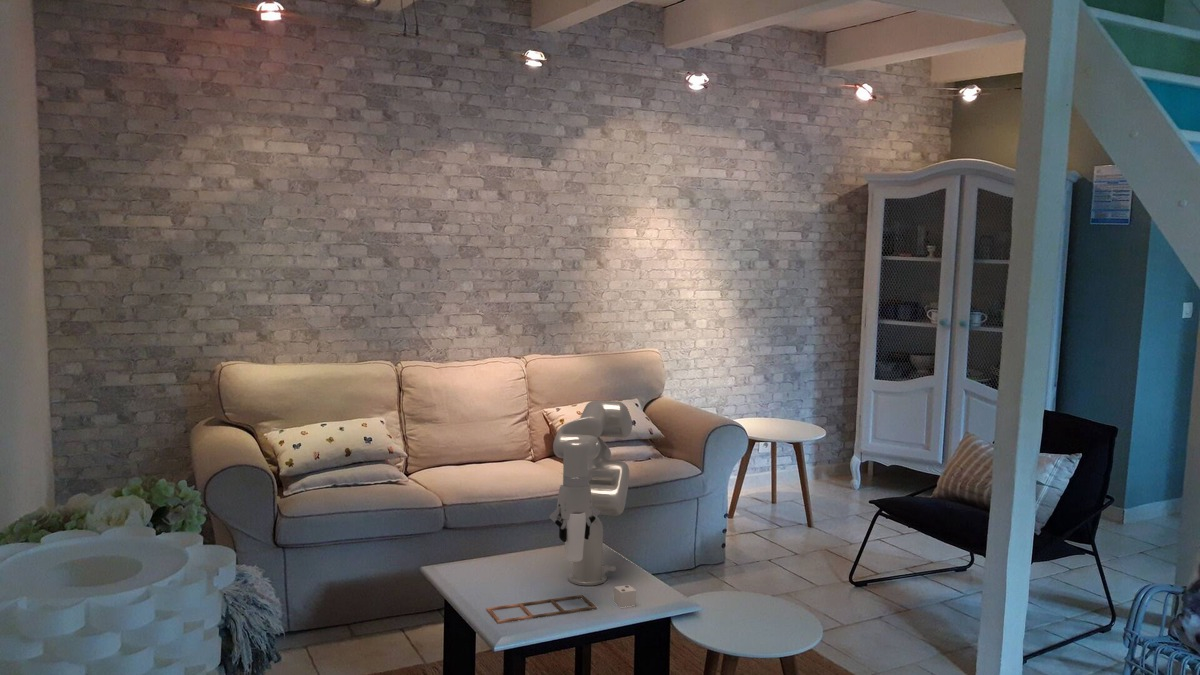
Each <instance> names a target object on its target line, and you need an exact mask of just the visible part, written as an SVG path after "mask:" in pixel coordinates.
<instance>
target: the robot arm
mask: <svg viewBox="0 0 1200 675" xmlns="http://www.w3.org/2000/svg"><path fill="white" fill-rule="evenodd" d="M632 428H633V420H632V416H631V415H630V412H629V409H628V406H626V404H625V403H624V402H621V401H614V400H600V399H599V400H591V401H589V402H587V404H586V405H585V407H584V409H583V411H582V413H581V415H580V417H579V418H577V419H574V420H571V421H570V422H567V423H564V424H563V425H562V426H561V427H560V428H559V429H558V431H557V433H556V435H555V437H554V440H553V445H552V446H553V447H552V448H553V449H552V450H553V454H554V455H555V456H556V457H558V458H559V459H563V461H562V462H563V466H562V468H563V470H562V471H563V472H562V484H560V485H559V489H558V495H557V503H556V509H555V510H554V511H553V512H552V513H550V515H549V519H550V520H551V521H552V522H553V523H555V525H557V527H558V537H559V539H560V541H562V542H563V543H565V542H566V529H565V526H566V524H567V520H569V517H570V514H581V513H584V512H585V515H586V529H585V538H584V548H583V559H582V560H581V561H579V562H572V571H571V572H570V573H568V575H567V579H568V582H570V583H571V584H575V585H579V586H586V587H587V586H598V585H601V584H603V583H605V582H606V581H607V580H608V578H607V574H608V573H615V572H616V570H617V567H616V566H615V565H611V566H610V565H609V564H603V547H604V545H603V543H604V541H603V540H604V526H603V523H602V522H601V520H600V518H599V517H598V516H599V515H601V516H602V515H604V516H620V515H621V514H622V513H624V510H625V507H626V501H627V496H628V491H629V490H628V489H629V482H630V467H629V465H628V463H626V462H625V461H623V460H619V459H617V460H615V459H611V456H612V452H611V449H610V447H609V446H608V445H607V443H606V442H605V441H604V439H602V437H605V438H621V439H622V438H627V437H629V436H630V435H631V432H632V430H633V429H632ZM557 517H560V519H558V518H557Z"/></svg>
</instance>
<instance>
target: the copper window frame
mask: <svg viewBox="0 0 1200 675" xmlns="http://www.w3.org/2000/svg"><path fill="white" fill-rule="evenodd" d="M577 598H578V599H581V598H582V599H583V600H584V601H583V600H582V599H581V600H582V601H583V602H584V603H585V604H587V606H586V607H581V608H572V609H566V610H565V609H564V608H563V607H562V606H560V605H559V603H558V602H561V601H569V600H577ZM549 603H551V604H552V605H553V607H555V608H556V610H558V611H552V612H545V613H539V614H533V613H531V611H530V610H529V609H528V608H527V607H528V606H533V605H542V604H549ZM526 606H527V607H526ZM590 606H591V607H590ZM514 608H520V609H521V610H522V611H523V612H524V613H525V614H526V615H525V616H524V615H523V616H518V617H511V618H510V617H509V618H504V619H500V618H499V617H498V616H497V614H496V613H495V612H494V611H498V610H505V609H514ZM592 609H594V610H597V609H598V607H597V606H596V605H595V604H594V603H593V602H592V601H590V600H589V598H587V597H586V596H585V595H583V594H579V595H578V594H577V595H571V596H563V597H558V598H557V597H556V598H550V599H549V598H548V599H544V600H543V599H542V600H535V601H527V602H520V603H514V604H506V605H499V606H491V607H486V609H485V611H486V612H487V613H488V614H489V615H490V616H491V618H492V619H493V618H494V619H493V620H494V621H495V622H496V623H497V624H498V623H499V624H504V622H506V623H511V622H512V621H513V622H519V621H518V620H520V621H525V620H524V619H527V620H532V618H533V619H538V617H540V618H546V616H547V617H552V616H558V615H566V614H567V615H568V614H572V613H578V612H580V611H581V612H586V610H587V611H593V610H592ZM492 610H493V611H492Z"/></svg>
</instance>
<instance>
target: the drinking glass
mask: <svg viewBox="0 0 1200 675" xmlns="http://www.w3.org/2000/svg"><path fill="white" fill-rule="evenodd" d="M565 529H566V542H564V549H565V550H564V553H565V554H564V555H565V557H564V558H565V560H566V561H567V562H569V563H573V562H579V561H581V560H582V559H583V548H584V538H585V529H586V515H585V512H584V513H581V514H570V517H569V520H567V524H566V526H565Z"/></svg>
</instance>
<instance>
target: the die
mask: <svg viewBox="0 0 1200 675" xmlns="http://www.w3.org/2000/svg"><path fill="white" fill-rule="evenodd" d="M614 602H615V603H616V604H617V605H618V606H620V607H625V606H626V607H627V606H632V605H636V606H637V603H636V602H637V590H636V589H635V588H634V587H632V586H631V585H630V584H627V585H619V586H614V588H613V603H614ZM615 603H614V604H615ZM616 604H615V605H616ZM617 605H616V606H617ZM618 606H617V607H618ZM620 607H619V608H620ZM627 608H628V607H627Z"/></svg>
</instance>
